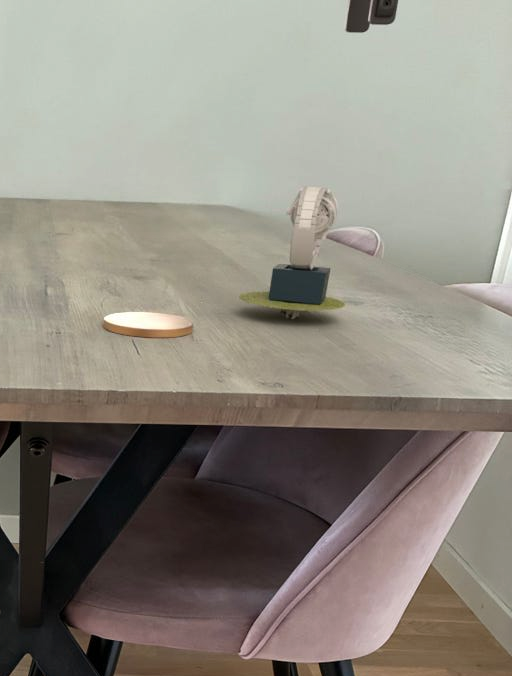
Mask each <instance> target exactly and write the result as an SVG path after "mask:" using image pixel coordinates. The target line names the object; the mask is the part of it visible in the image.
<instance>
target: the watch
mask: <svg viewBox="0 0 512 676" xmlns="http://www.w3.org/2000/svg"><path fill="white" fill-rule="evenodd" d="M338 213H339V203H338V201H337V198H336V197H335V196H334V194H333V192H332V191H331V189H330V188H327V187H320V186H303V187H301V188H300V189H299V191H298V193H297V195H296V196H295V197H294V199H293V201H292V203H291V206H287V207H286V209H285V215H286V216H289V218H290V221H291V223H292V227H293V229H292V231H291V232H292V233H291V241H290V249H289V250H288V254H289V263H290V264H289V263H278V264H276V266H274V267H273V268H272V270H271V271H272V272H271V278H270V285H269V291H268V292H269V298H268V299H272V300H282V301H293V302H303V303H314V304H321V303H322V302H323V301H324V299H325V297H327V290H328V285H329V279H330V274H331V269H332V268H331V267H323V266H315V265H316V263H317V260H318V256H319V252H320V249H321V243H322V242H325V240H326V238H327V236H328V235H329V232H330V231H331V228H332V227H333V225H334V223H335V221H336V219H337V217H338Z"/></svg>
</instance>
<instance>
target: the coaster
mask: <svg viewBox="0 0 512 676" xmlns="http://www.w3.org/2000/svg"><path fill="white" fill-rule="evenodd" d="M102 326H103V328H104V329H105V330H107V331H109V332H112V333H115V334H118V335H122V336H128V337H129V336H130V337H138V338H151V339H152V338H153V339H165V338H166V339H167V338H179V337H184V336H187V335H190V334H192V333H193V331H194V322H193V321H192V320H191V319H190V318H189V319H188V318H187V317H183V316H179V315H174V314H170V313H169V314H168V313H160V312H150V311H149V312H148V311H126V312H115V313H111V314H108V315H106V316H104V317H103V325H102Z"/></svg>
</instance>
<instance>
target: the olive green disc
mask: <svg viewBox="0 0 512 676" xmlns="http://www.w3.org/2000/svg"><path fill="white" fill-rule="evenodd" d="M238 298H239V299H240V300H241V301H243V302H245V303H247V304H252V305H258V306H260V307H261V306H262V307H265V308H276V309H280V312H279V313H280V314H283V315H284V316H285V318H286V319H289V318H290V317H291V320H294V319H296V318H299V315H300V311H303V312H304V311H305V312H307V311H308V312H316V311H317V312H318V311H324V312H325V311H326V310H327V311H331V310H337V309H342V308H344V307H345V306H346V303H345V302H344V301H342V300H340V299H337V298H334V297H331V296H326V297H325V299H324V301H323V302H322V303H321V304H314V303H303V302H293V301H282V300H272V299H268V298H269V291H252V292H246V293H245V292H244V293H241V294H240V295H238Z"/></svg>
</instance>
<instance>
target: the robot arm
mask: <svg viewBox="0 0 512 676" xmlns="http://www.w3.org/2000/svg"><path fill="white" fill-rule="evenodd" d="M398 4H399V0H348V2H347V9H346V15H345V22H344V31H345V32H346V33H353V34H355V33H356V34H357V33H358V34H363V33H366V32H368V30H369V29H370V25H373V26H377V25H378V26H388V25H392V24H393V23H394V22H395V20H396V16H397V9H398Z"/></svg>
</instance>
